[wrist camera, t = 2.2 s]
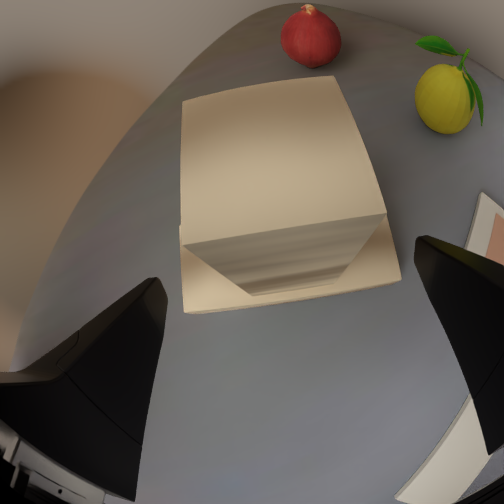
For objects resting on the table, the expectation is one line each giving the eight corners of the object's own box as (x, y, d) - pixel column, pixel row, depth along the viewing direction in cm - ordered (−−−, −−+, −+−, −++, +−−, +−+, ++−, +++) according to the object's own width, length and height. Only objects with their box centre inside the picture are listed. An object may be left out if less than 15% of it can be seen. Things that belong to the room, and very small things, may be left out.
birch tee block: (392, 284, 18) (512, 213, 6) (194, 314, 20) (55, 284, 7) (373, 205, 20) (436, 70, 7) (189, 234, 21) (80, 131, 9)
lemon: (399, 94, 22) (422, 15, 12) (450, 110, 21) (483, 40, 11) (404, 143, 20) (441, 56, 11) (460, 161, 19) (510, 89, 10)
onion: (295, 48, 25) (290, -9, 18) (345, 59, 24) (348, 0, 16) (275, 75, 24) (265, 11, 17) (330, 88, 23) (333, 21, 15)
